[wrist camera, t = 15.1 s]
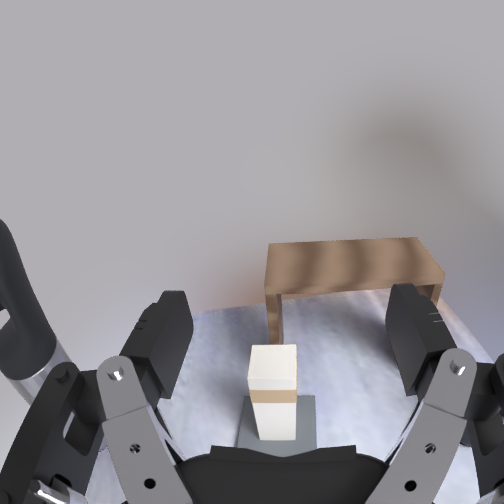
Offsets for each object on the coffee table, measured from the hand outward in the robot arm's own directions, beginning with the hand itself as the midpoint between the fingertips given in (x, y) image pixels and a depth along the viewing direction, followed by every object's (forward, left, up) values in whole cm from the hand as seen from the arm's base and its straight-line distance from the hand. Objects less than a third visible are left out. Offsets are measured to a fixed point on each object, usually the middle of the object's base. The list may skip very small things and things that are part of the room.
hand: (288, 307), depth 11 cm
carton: (-2, +10, -29) cm, 31 cm away
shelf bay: (+8, +23, -30) cm, 39 cm away
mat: (-2, +10, -30) cm, 31 cm away
